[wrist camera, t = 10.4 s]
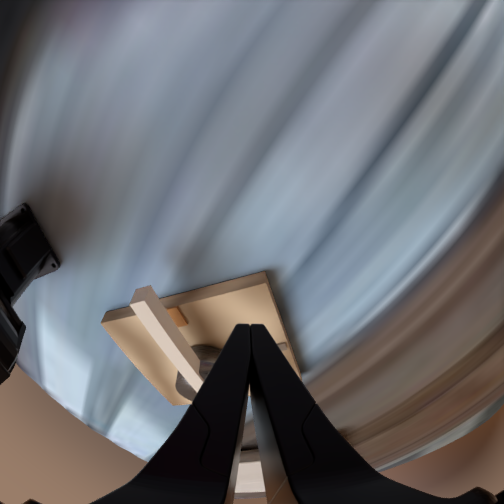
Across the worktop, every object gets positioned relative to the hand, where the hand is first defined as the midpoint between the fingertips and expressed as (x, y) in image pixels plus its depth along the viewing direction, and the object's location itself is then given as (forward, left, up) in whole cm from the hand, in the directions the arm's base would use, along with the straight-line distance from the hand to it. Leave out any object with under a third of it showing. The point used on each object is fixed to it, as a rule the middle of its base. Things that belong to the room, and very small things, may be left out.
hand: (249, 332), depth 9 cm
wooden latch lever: (-8, -9, -10) cm, 16 cm away
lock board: (-8, -13, -12) cm, 19 cm away
